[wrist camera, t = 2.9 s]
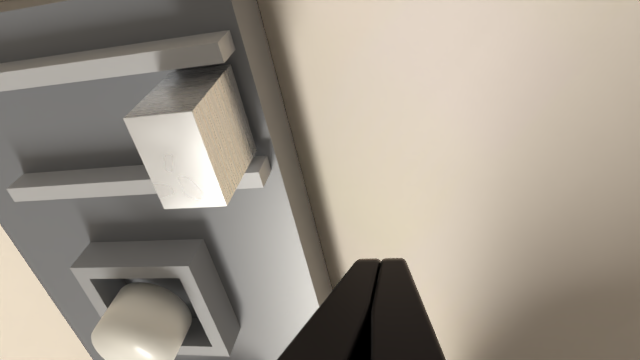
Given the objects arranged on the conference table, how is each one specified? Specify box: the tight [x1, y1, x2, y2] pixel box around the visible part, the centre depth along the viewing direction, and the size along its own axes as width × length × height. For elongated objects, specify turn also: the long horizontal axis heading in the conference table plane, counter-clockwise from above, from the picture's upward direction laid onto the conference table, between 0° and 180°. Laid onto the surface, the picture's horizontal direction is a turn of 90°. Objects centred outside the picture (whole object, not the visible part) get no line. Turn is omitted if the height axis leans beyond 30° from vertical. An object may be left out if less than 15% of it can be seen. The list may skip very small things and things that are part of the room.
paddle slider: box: [123, 64, 257, 209], centre depth 15 cm, size 2×3×3 cm, turn 12°
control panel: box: [0, 0, 332, 360], centre depth 23 cm, size 13×24×4 cm, turn 12°
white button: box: [91, 282, 192, 360], centre depth 20 cm, size 3×3×2 cm
